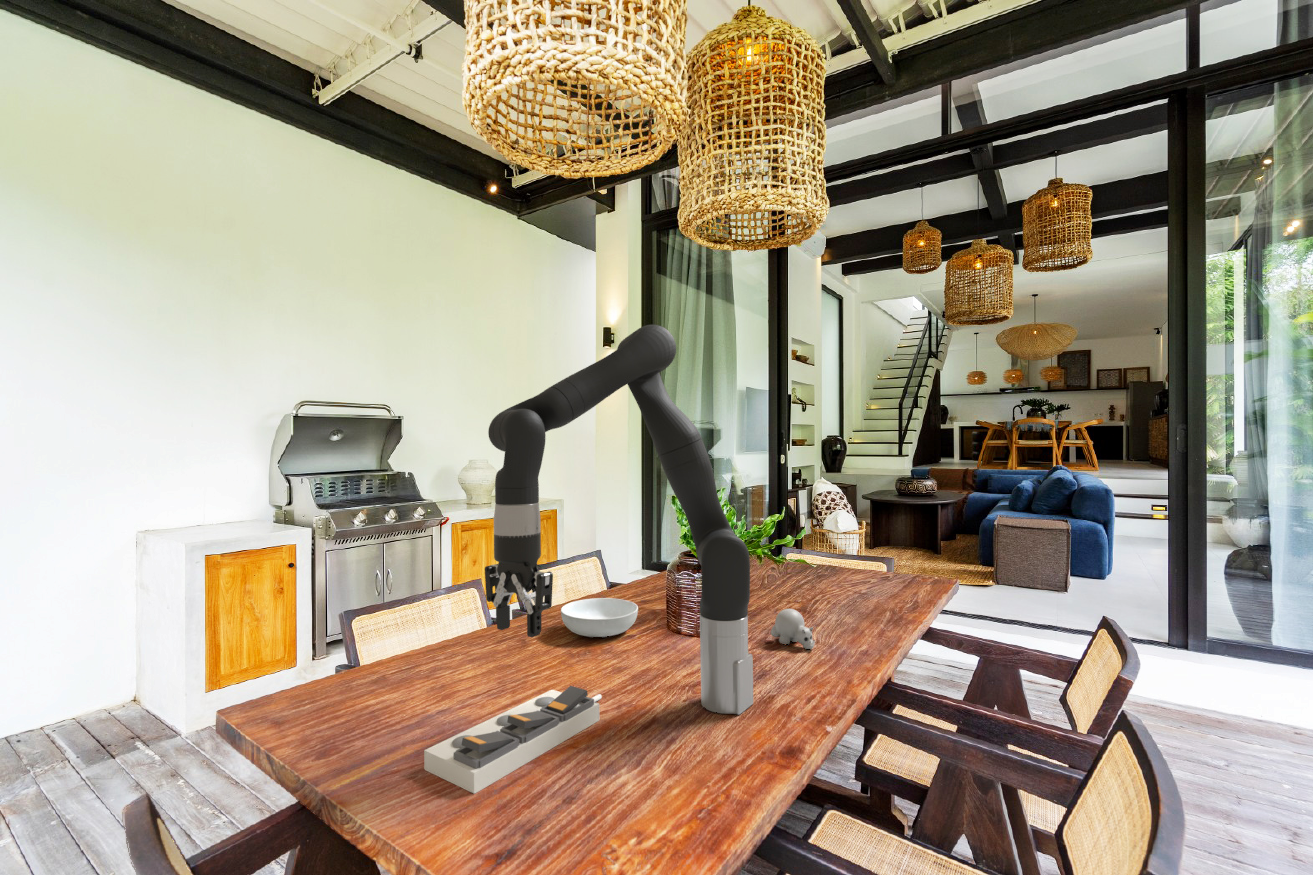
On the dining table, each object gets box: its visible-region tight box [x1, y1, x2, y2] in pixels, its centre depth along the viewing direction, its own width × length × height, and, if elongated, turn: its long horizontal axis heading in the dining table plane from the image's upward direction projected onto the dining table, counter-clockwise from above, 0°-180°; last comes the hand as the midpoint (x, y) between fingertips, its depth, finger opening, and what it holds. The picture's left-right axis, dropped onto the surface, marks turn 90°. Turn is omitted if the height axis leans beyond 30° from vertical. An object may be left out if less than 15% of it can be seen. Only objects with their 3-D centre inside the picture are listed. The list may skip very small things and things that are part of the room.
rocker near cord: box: [547, 685, 589, 714], centre depth 108 cm, size 6×4×1 cm, turn 146°
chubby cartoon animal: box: [770, 608, 816, 650], centre depth 149 cm, size 7×12×8 cm, turn 33°
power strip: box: [423, 689, 603, 795], centre depth 105 cm, size 36×12×4 cm, turn 145°
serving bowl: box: [560, 597, 639, 638], centre depth 162 cm, size 21×21×7 cm
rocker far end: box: [462, 732, 512, 752], centre depth 93 cm, size 6×4×1 cm, turn 145°
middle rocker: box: [507, 712, 553, 728], centre depth 100 cm, size 6×4×1 cm, turn 145°
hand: (518, 631), depth 99 cm, fingers open, 6 cm apart
